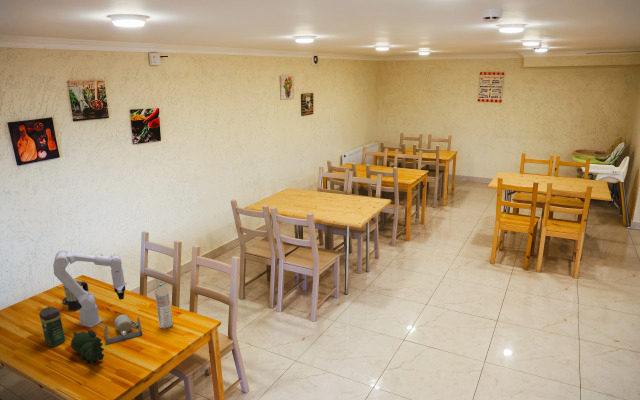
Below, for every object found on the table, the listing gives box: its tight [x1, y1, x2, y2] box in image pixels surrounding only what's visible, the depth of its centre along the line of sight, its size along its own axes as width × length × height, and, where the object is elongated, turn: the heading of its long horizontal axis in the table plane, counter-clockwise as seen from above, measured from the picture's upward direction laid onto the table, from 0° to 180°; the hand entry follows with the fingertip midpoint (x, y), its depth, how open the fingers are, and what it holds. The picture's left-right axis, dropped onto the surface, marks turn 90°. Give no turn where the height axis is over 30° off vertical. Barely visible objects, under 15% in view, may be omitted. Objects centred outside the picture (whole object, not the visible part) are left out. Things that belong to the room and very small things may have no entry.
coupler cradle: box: [104, 316, 143, 345], centre depth 229 cm, size 16×17×4 cm
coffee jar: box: [39, 306, 66, 347], centre depth 220 cm, size 10×8×19 cm
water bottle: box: [154, 282, 174, 330], centre depth 232 cm, size 7×7×25 cm
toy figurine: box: [70, 329, 105, 365], centre depth 208 cm, size 9×19×25 cm
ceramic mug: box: [114, 314, 139, 334], centre depth 232 cm, size 11×8×8 cm
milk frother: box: [62, 280, 90, 312], centre depth 256 cm, size 14×16×15 cm
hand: (121, 298), depth 243 cm, fingers closed
